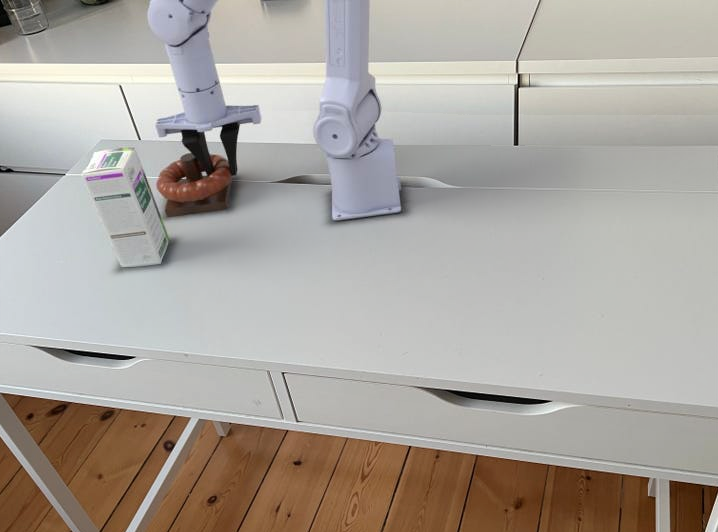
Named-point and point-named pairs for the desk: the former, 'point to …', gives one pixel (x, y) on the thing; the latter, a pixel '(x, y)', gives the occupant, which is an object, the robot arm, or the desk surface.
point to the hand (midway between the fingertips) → (223, 174)
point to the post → (204, 205)
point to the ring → (194, 189)
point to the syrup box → (126, 206)
